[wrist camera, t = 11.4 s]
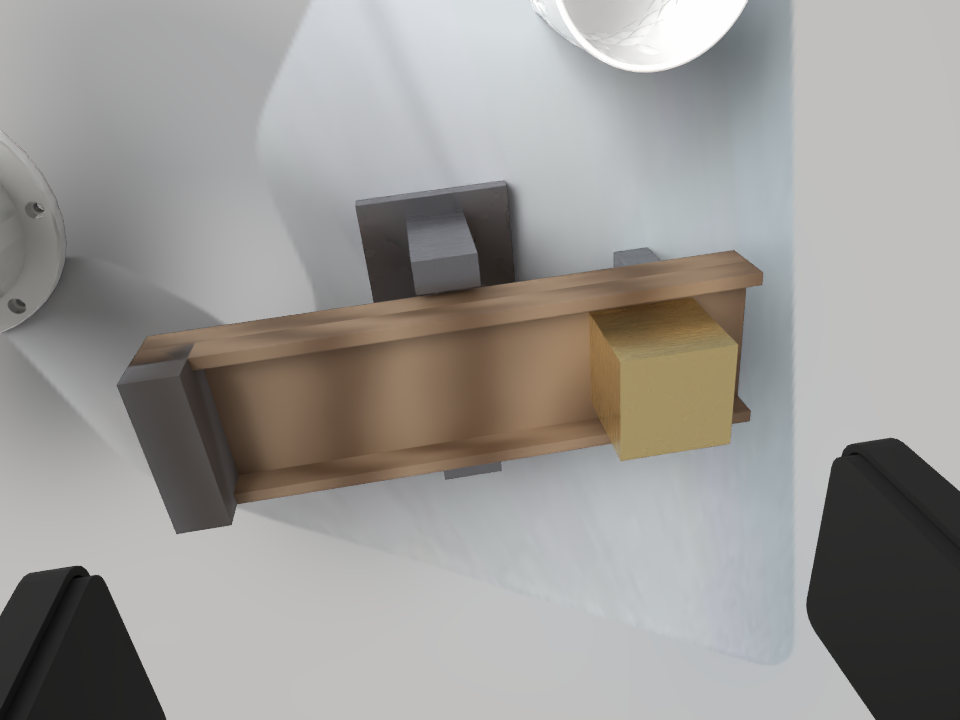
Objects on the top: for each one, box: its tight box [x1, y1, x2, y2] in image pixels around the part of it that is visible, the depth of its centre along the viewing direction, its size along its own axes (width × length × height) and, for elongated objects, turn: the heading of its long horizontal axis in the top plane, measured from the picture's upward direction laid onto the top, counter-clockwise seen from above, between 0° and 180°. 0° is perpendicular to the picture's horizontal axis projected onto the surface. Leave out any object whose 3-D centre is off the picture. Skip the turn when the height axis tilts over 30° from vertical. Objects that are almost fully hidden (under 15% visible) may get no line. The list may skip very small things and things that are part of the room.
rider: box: [589, 297, 738, 461], centre depth 33 cm, size 5×5×5 cm
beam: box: [117, 250, 763, 534], centre depth 35 cm, size 28×8×5 cm, turn 96°
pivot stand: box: [356, 181, 515, 480], centre depth 39 cm, size 8×14×8 cm, turn 6°
